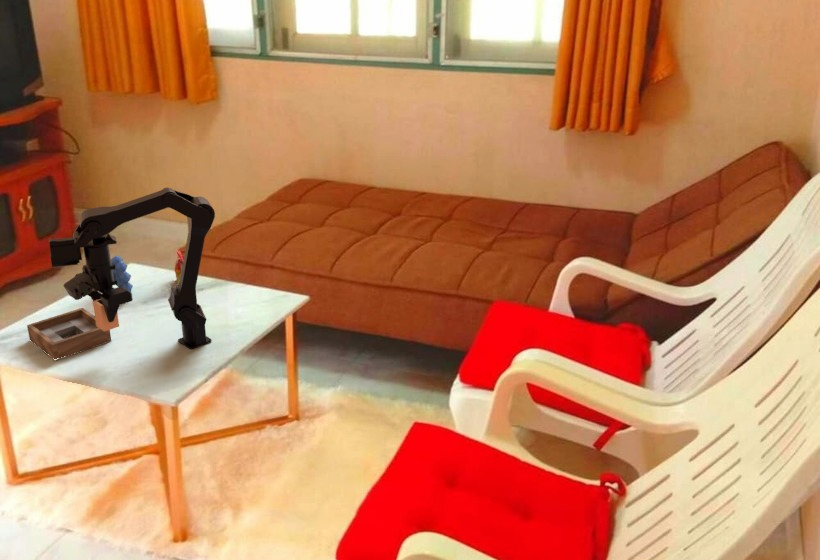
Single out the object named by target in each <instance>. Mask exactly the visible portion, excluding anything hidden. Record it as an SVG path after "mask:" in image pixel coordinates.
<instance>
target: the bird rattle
mask: <svg viewBox="0 0 820 560" xmlns="http://www.w3.org/2000/svg"><path fill="white" fill-rule="evenodd" d="M176 254H177V255H178V256H179V258H177V259H176V260H175V262H174V273H175V277H176V278H175V279H176V281H177V283H176V284H177V285H178V284H179V282H180V277H181V271H182V265H183V260H184V255H182V252H181V251H180V250H178V251H176Z"/></svg>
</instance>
